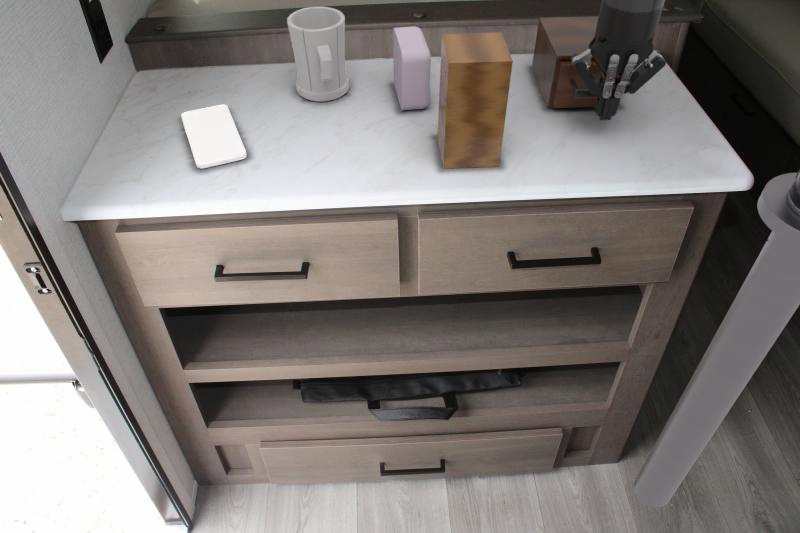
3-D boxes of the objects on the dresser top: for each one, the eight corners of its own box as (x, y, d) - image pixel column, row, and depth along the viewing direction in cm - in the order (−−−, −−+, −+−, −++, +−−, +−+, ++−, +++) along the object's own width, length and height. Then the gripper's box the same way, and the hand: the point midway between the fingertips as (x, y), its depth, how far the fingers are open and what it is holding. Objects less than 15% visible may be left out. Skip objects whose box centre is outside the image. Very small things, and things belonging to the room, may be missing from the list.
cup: (368, 90, 105) (365, 18, 96) (330, 113, 100) (323, 40, 91) (322, 70, 109) (315, 1, 101) (284, 91, 104) (273, 20, 96)
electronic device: (431, 111, 100) (433, 51, 93) (402, 114, 99) (402, 54, 92) (421, 80, 107) (422, 22, 100) (393, 82, 106) (393, 24, 99)
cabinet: (618, 106, 100) (632, 54, 94) (547, 108, 100) (556, 56, 94) (596, 66, 110) (608, 15, 104) (531, 68, 110) (539, 17, 103)
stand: (490, 135, 95) (501, 32, 84) (499, 166, 89) (512, 60, 78) (437, 137, 95) (441, 33, 83) (443, 168, 89) (448, 62, 78)
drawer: (626, 120, 96) (638, 77, 91) (559, 122, 96) (568, 79, 91) (597, 68, 108) (607, 26, 103) (538, 69, 108) (544, 28, 102)
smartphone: (196, 166, 89) (179, 112, 98) (197, 170, 89) (181, 116, 99) (247, 154, 91) (226, 103, 100) (248, 159, 91) (227, 107, 101)
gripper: (588, 11, 77) (564, 132, 89) (696, 8, 77) (657, 130, 89) (574, -14, 82) (553, 104, 95) (675, -16, 83) (641, 102, 95)
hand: (603, 117), depth 92 cm, fingers closed
